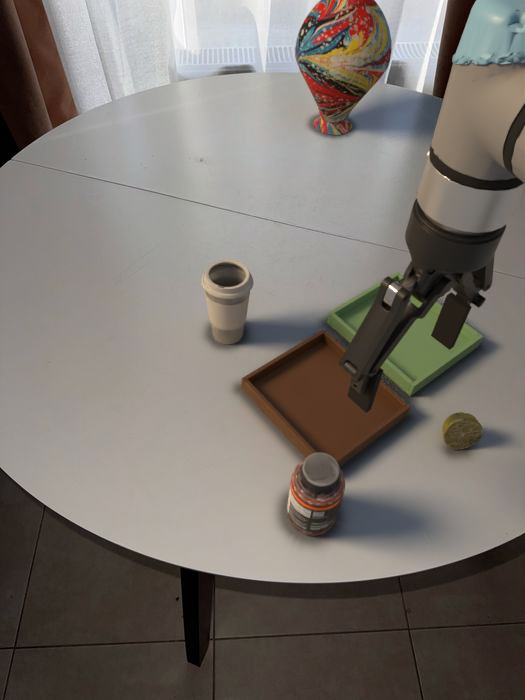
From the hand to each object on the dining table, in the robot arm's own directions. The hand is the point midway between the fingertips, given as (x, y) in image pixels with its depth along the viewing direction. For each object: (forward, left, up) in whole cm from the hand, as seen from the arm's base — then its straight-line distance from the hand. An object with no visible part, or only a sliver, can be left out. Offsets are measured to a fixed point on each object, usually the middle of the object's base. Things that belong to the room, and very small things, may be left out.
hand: (402, 370), depth 63 cm
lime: (-6, -9, -16) cm, 20 cm away
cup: (+27, +4, -16) cm, 32 cm away
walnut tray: (+9, +1, -16) cm, 19 cm away
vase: (+62, -50, -16) cm, 82 cm away
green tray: (+11, -17, -16) cm, 26 cm away
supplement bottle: (-2, +13, -16) cm, 21 cm away
